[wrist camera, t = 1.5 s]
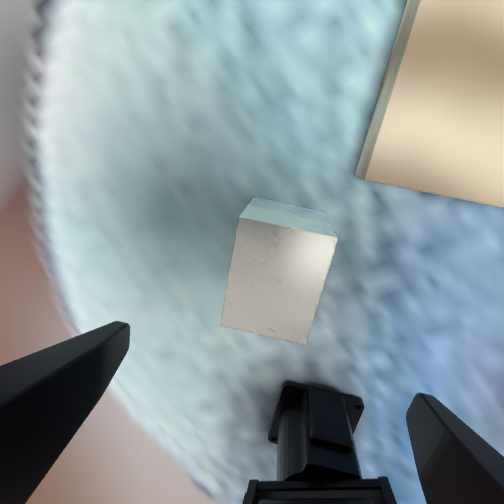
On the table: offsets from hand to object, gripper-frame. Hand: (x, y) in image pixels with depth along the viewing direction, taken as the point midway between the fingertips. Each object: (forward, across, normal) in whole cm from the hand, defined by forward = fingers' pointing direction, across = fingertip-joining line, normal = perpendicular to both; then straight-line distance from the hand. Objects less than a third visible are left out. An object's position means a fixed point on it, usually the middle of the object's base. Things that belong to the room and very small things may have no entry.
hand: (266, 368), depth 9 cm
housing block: (+12, 0, 0) cm, 12 cm away
